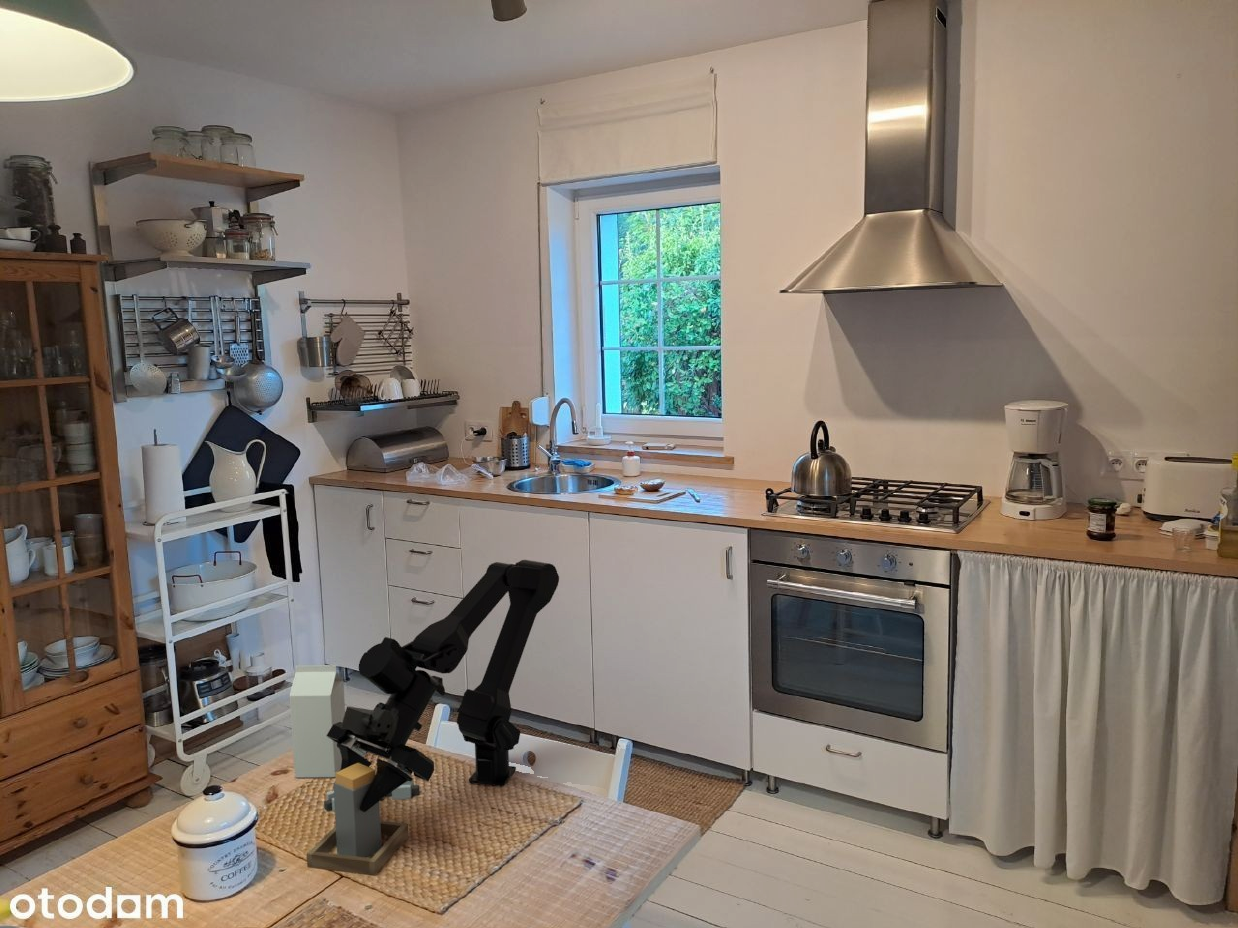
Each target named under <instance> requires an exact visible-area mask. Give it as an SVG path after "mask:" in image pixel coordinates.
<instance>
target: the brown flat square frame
mask: <svg viewBox="0 0 1238 928" xmlns="http://www.w3.org/2000/svg"><path fill="white" fill-rule="evenodd" d="M380 825H381V837H389V838H388V840H387V841H386V842H385V843H384V844H383V845H382V848H381V849H380V850H379V851H378V852H376V853H374V854H373V856H372V858H371V857H367V858H365V857H356V856H348V855H340V854H337V853H331V852H330V851H331V850H332V848H333V847H334V846H335V845H337V840H336V825H335V826H333V827H332V829H330V830H329V831H328V832H327V833H326V834H325V835H324V836H323V837H322V838H321V839H320V840H319V841H318V842H317V843H316V844H315V845H314V846H313V847H312V848H311V849H310V850H308V851H307V852H306V867H307V868H312V869H313V868H314V869H320V870H328V871H338V872H345V873H352V874H353V873H354V874H360V875H368V876H376V875H377V874H378V873H379V871H381V869H382V868H383V867H384V866H385V864H386V863H387V862H388V861H389V860H390V859H391V858H392V856H393V855H394V853H396V851H397V850H398V849H400V847H401V846H402V844H403V843H404V842H405V841H406V840H407V839H408V838H409V836H410V835H409V823H408V822H407V823H404V822H396V821H389V820H388V821H387V820H380Z"/></svg>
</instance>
